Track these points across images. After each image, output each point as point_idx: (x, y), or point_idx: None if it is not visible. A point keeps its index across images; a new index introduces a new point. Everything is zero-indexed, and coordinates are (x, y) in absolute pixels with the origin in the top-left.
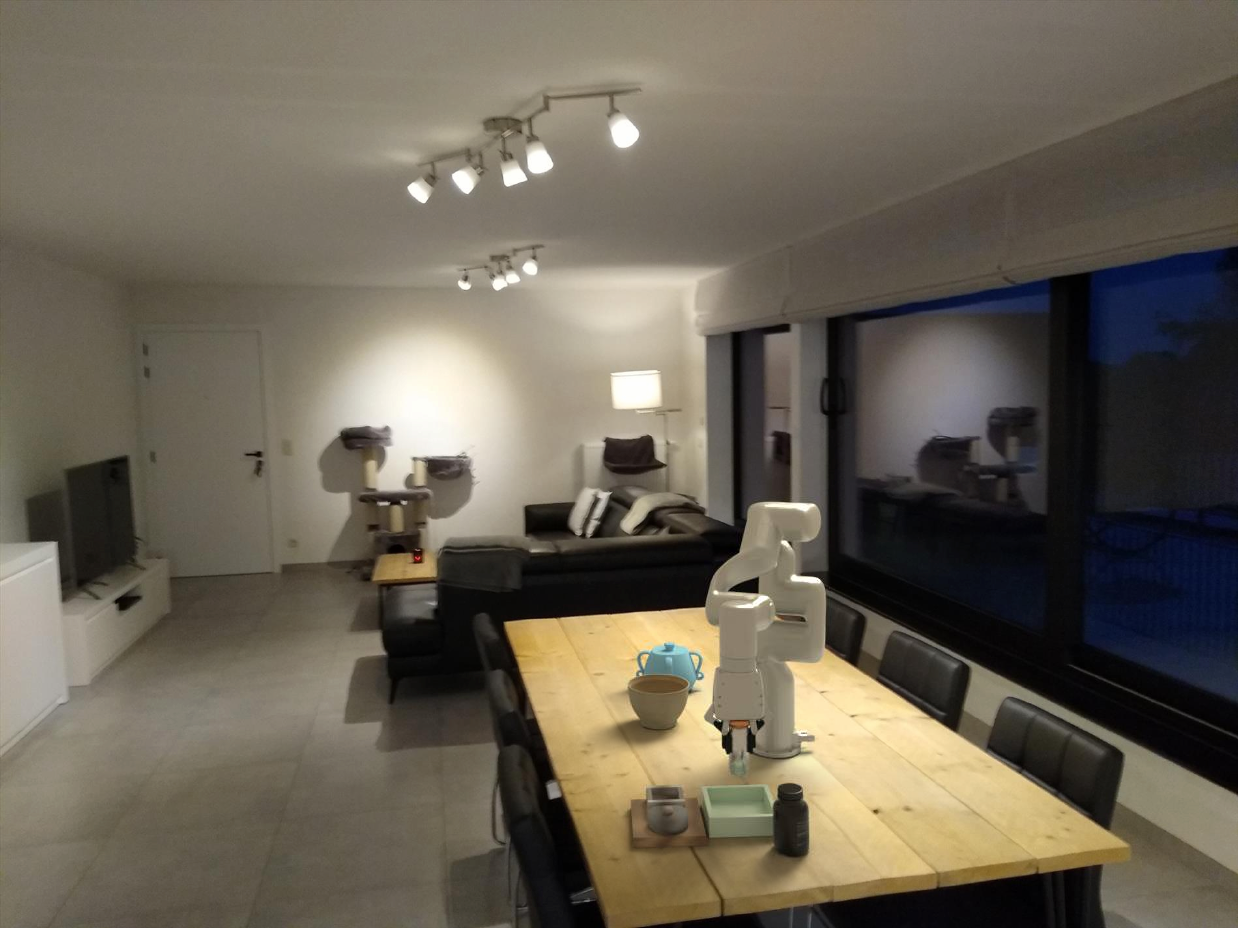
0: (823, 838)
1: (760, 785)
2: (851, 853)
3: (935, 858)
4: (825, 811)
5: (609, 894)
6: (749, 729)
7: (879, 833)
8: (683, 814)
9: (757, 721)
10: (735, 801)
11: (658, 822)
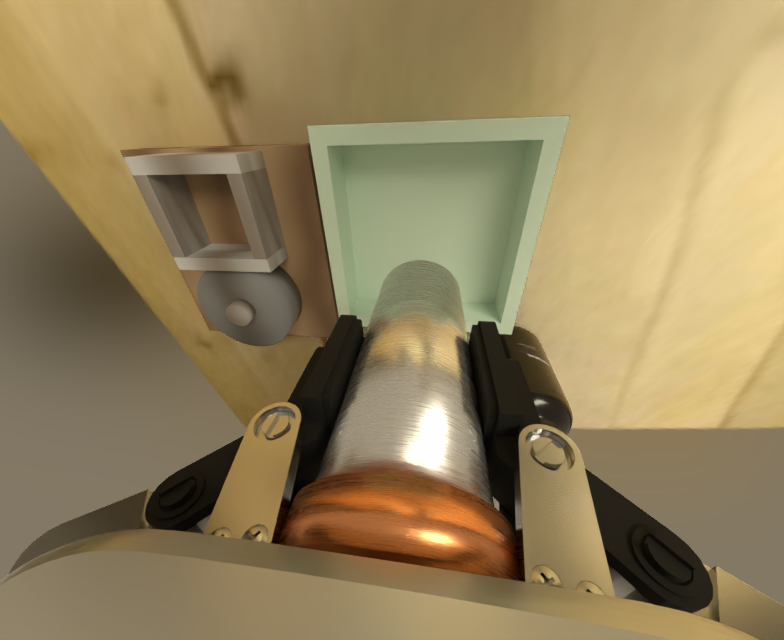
0: (590, 326)
1: (535, 129)
2: (610, 375)
3: (763, 405)
4: (702, 197)
5: (232, 407)
6: (494, 478)
7: (744, 320)
8: (280, 317)
9: (612, 551)
10: (431, 144)
11: (236, 338)
